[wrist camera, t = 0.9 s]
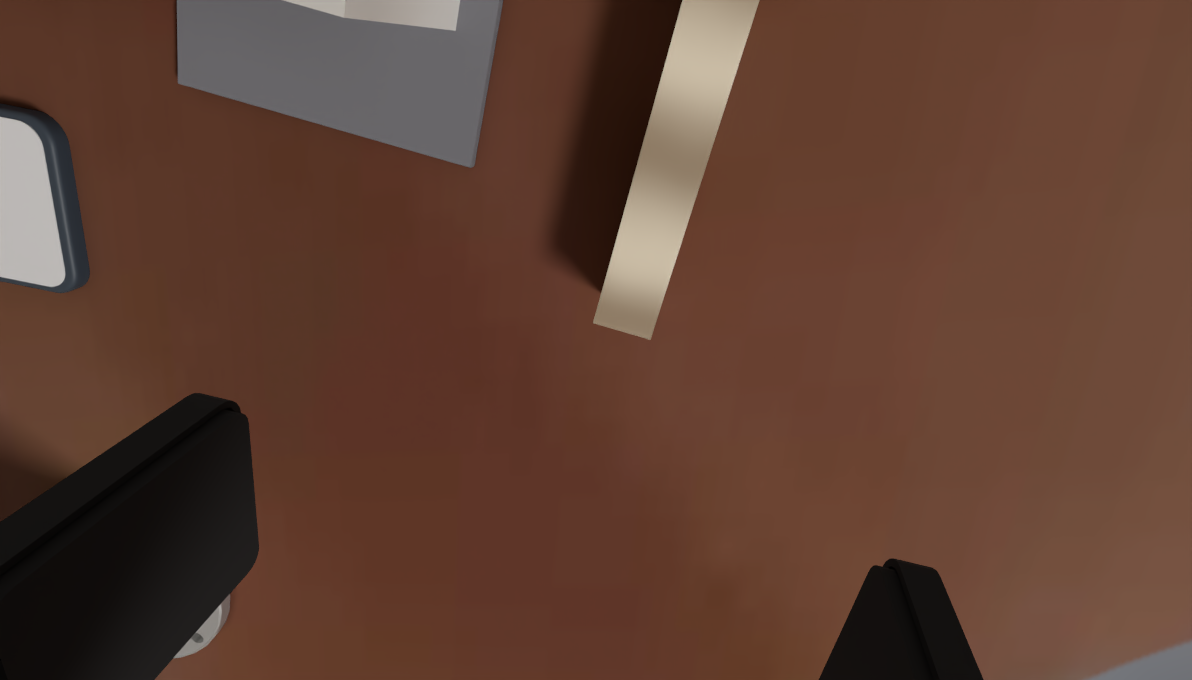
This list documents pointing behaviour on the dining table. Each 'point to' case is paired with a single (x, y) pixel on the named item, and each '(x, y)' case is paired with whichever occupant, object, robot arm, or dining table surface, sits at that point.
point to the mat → (347, 69)
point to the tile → (392, 11)
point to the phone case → (39, 205)
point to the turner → (673, 159)
